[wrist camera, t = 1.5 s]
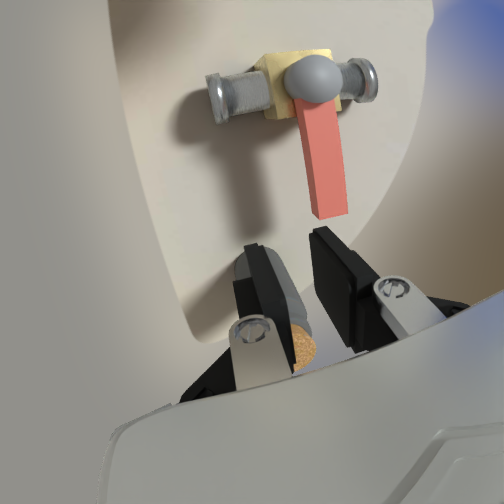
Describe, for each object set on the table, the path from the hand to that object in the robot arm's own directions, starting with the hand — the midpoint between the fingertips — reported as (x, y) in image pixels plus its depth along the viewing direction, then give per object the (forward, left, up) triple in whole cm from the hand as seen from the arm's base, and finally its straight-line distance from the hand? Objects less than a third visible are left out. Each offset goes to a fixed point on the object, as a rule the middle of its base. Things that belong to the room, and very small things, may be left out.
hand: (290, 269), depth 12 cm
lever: (-3, +7, -15) cm, 17 cm away
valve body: (-8, +7, -21) cm, 24 cm away
